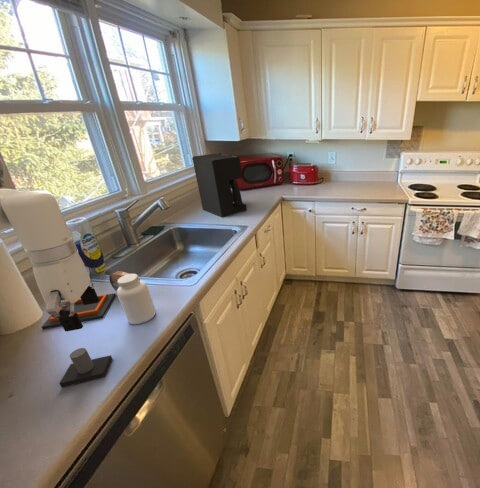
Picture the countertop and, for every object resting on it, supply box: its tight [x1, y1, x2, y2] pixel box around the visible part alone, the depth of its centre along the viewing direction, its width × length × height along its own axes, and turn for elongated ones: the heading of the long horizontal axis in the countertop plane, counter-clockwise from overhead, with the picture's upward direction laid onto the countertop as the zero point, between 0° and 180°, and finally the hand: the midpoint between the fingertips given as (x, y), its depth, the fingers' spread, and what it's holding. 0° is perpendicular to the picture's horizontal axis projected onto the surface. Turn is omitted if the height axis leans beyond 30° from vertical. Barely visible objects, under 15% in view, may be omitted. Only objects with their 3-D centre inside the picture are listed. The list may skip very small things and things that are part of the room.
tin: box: [108, 270, 130, 292], centre depth 101 cm, size 15×3×8 cm, turn 67°
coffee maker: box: [191, 153, 248, 218], centre depth 180 cm, size 28×20×35 cm
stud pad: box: [58, 347, 113, 388], centre depth 70 cm, size 9×6×7 cm, turn 109°
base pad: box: [41, 292, 117, 330], centre depth 94 cm, size 16×13×2 cm
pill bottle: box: [116, 273, 157, 325], centre depth 88 cm, size 8×8×15 cm
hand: (83, 315), depth 66 cm, fingers open, 9 cm apart
